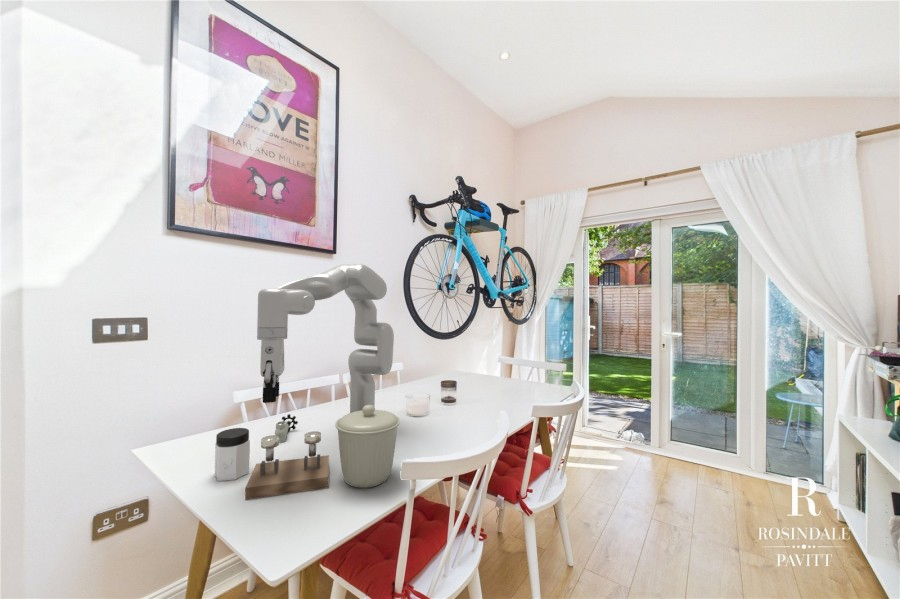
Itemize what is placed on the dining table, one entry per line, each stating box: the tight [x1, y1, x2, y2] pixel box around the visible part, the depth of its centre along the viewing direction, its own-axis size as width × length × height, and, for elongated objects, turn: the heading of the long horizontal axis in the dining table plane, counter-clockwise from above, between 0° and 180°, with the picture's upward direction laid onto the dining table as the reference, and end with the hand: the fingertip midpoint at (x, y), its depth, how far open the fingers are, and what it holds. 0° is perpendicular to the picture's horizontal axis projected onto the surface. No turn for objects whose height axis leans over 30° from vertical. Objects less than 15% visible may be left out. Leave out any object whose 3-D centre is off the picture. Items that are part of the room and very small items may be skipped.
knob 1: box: [260, 434, 280, 463], centre depth 97 cm, size 4×4×6 cm
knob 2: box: [303, 430, 322, 458], centre depth 101 cm, size 4×4×6 cm
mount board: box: [244, 454, 330, 501], centre depth 99 cm, size 20×14×6 cm
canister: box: [334, 405, 401, 489], centre depth 101 cm, size 18×18×21 cm
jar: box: [214, 427, 251, 482], centre depth 102 cm, size 9×8×12 cm
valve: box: [274, 413, 299, 444], centre depth 131 cm, size 7×7×12 cm
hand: (271, 398), depth 98 cm, fingers open, 5 cm apart
